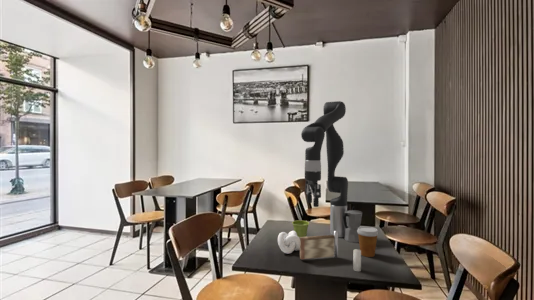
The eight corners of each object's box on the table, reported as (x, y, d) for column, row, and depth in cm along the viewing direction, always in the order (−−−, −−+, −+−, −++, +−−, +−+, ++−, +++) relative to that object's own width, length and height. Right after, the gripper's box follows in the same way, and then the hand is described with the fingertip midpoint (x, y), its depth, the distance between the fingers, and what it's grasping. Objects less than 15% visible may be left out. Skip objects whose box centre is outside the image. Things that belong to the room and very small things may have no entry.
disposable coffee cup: (364, 259, 130) (364, 232, 130) (352, 251, 139) (353, 227, 139) (382, 257, 133) (383, 231, 132) (370, 250, 142) (370, 225, 142)
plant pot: (310, 241, 155) (310, 225, 154) (292, 241, 155) (292, 224, 155) (308, 235, 164) (308, 220, 164) (291, 235, 164) (291, 220, 164)
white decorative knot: (286, 257, 132) (286, 238, 132) (271, 249, 142) (271, 231, 142) (305, 252, 138) (305, 234, 138) (289, 245, 148) (290, 227, 148)
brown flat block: (332, 255, 133) (332, 234, 133) (334, 256, 132) (334, 235, 131) (299, 258, 130) (299, 236, 130) (301, 259, 128) (301, 237, 128)
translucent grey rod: (333, 256, 133) (333, 230, 133) (336, 256, 134) (336, 230, 133) (334, 258, 132) (335, 231, 131) (338, 257, 132) (338, 231, 132)
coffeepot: (352, 235, 165) (353, 203, 164) (367, 239, 157) (368, 206, 157) (335, 241, 155) (336, 207, 155) (351, 245, 148) (351, 210, 147)
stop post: (351, 268, 121) (352, 249, 120) (358, 267, 121) (358, 248, 121) (355, 271, 118) (355, 252, 118) (362, 271, 118) (362, 251, 118)
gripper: (300, 168, 141) (300, 202, 141) (310, 171, 127) (310, 208, 127) (315, 168, 142) (314, 201, 143) (326, 171, 128) (326, 207, 129)
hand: (312, 204), depth 135 cm, fingers open, 8 cm apart
